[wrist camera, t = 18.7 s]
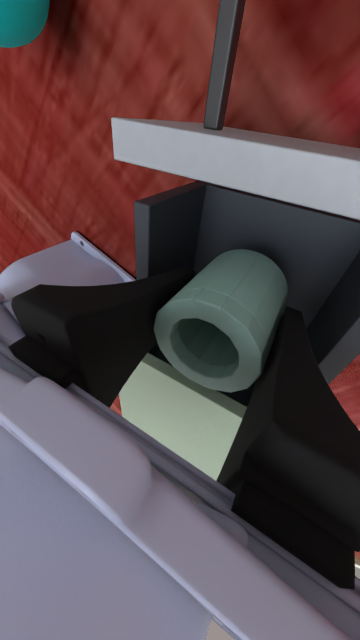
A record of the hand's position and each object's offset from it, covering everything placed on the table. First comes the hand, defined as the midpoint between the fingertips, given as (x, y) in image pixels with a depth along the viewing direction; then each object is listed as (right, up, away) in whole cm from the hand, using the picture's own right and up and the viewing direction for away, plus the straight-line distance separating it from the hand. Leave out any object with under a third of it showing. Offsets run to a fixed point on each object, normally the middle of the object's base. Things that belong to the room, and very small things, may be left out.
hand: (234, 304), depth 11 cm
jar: (+1, +1, +1) cm, 1 cm away
